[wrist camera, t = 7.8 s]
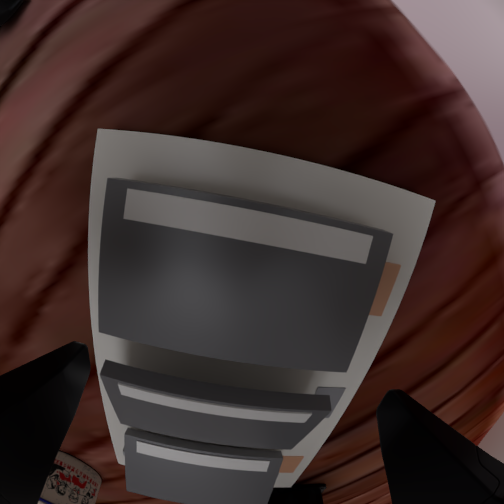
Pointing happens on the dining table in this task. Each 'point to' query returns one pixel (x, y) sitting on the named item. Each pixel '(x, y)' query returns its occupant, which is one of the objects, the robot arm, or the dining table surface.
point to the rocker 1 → (235, 276)
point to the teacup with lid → (70, 482)
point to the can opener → (8, 9)
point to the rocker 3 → (198, 470)
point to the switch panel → (273, 192)
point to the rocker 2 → (211, 409)
